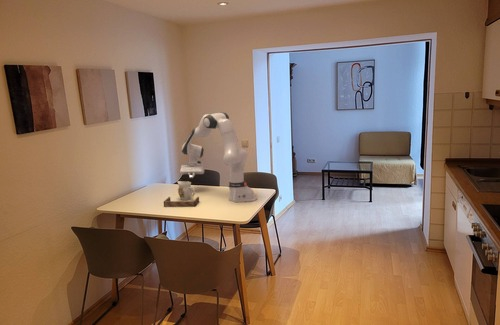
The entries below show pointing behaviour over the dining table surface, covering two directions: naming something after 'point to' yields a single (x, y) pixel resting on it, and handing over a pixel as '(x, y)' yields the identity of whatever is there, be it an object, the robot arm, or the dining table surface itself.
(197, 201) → the tray
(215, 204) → the dining table surface
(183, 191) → the pitcher
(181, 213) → the dining table surface
